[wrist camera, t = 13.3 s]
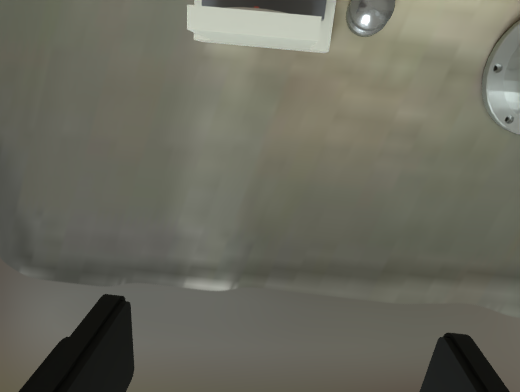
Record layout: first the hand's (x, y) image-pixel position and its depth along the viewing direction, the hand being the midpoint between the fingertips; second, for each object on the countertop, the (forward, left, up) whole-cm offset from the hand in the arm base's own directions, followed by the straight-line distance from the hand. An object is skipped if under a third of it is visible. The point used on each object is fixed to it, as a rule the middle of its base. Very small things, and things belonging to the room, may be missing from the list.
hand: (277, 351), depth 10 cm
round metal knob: (-7, -14, -30) cm, 34 cm away
